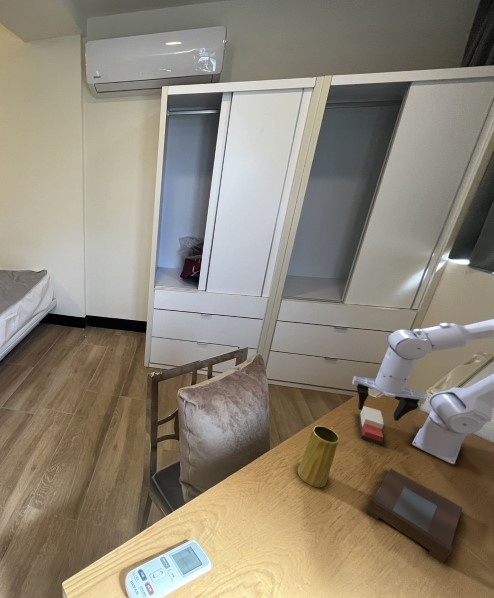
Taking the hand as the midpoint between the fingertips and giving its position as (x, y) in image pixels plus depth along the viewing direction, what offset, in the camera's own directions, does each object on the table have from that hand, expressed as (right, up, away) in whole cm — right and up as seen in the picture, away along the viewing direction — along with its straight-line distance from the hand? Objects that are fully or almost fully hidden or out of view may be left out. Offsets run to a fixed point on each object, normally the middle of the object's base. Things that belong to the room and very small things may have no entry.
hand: (377, 412), depth 87 cm
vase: (-25, -13, -10) cm, 30 cm away
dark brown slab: (-9, -16, -18) cm, 26 cm away
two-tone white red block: (+1, -6, +3) cm, 7 cm away
